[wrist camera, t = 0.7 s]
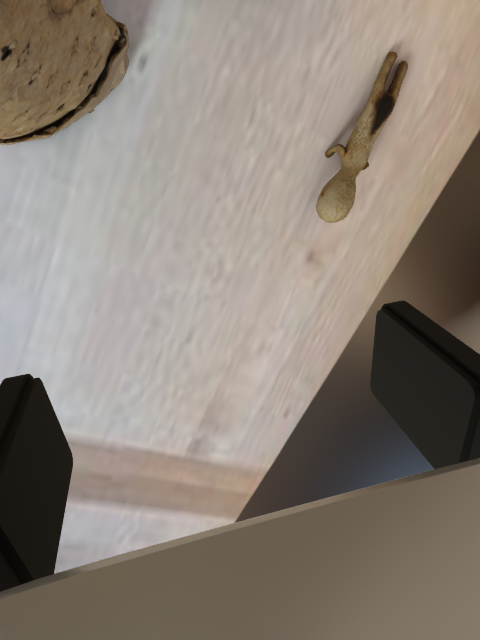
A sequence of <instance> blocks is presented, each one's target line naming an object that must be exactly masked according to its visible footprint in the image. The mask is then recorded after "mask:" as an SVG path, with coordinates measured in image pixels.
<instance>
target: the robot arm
mask: <svg viewBox="0 0 480 640" xmlns="http://www.w3.org/2000/svg"><path fill="white" fill-rule="evenodd" d="M370 385H371V390H372V392H373V394H374V396H375V397H376V398H377V400H378V401H379V402H380V403H381V405H382V406H383V407H384V408H385V409H386V411H387V412H388V413H389V414H390V415H391V417H392V418H393V419H394V420H395V421H396V423H397V424H398V425H399V426H400V428H401V429H402V430H403V431H404V432H405V434H406V435H407V436H408V437H409V439H410V440H411V441H412V442H413V443H414V444H415V446H416V447H417V448H418V449H419V451H420V452H421V453H422V454H423V455H424V457H425V458H426V459H427V460H428V461H429V463H430V464H431V465H432V466H433V467H434V470H430V471H427V472H423V473H419V474H416V475H412V476H408V477H404V478H400V479H397V480H393V481H389V482H385V483H382V484H378V485H374V486H370V487H366V488H363V489H359V490H355V491H352V492H347V493H344V494H340V495H336V496H333V497H329V498H325V499H322V500H318V501H314V502H311V503H307V504H303V505H299V506H296V507H292V508H288V509H284V510H281V511H277V512H274V513H270V514H266V515H262V516H259V517H255V518H252V519H248V520H244V521H240V522H237V523H233V524H229V525H226V526H222V527H218V528H215V529H211V530H208V531H204V532H200V533H197V534H193V535H190V536H186V537H182V538H179V539H175V540H171V541H168V542H164V543H161V544H157V545H153V546H150V547H146V548H143V549H139V550H135V551H132V552H128V553H125V554H121V555H117V556H114V557H111V558H107V559H104V560H100V561H97V562H94V563H90V564H87V565H83V566H80V567H77V568H73V569H70V570H66V571H63V572H59V573H56V574H54V569H55V564H56V558H57V552H58V547H59V541H60V535H61V530H62V524H63V518H64V513H65V507H66V501H67V496H68V490H69V484H70V479H71V473H72V467H73V457H72V453H71V450H70V447H69V445H68V443H67V440H66V438H65V435H64V433H63V431H62V428H61V426H60V423H59V421H58V419H57V416H56V414H55V411H54V409H53V407H52V404H51V402H50V399H49V397H48V395H47V392H46V390H45V387H44V385H43V383H42V381H41V379H40V378H33V377H32V376H31V375H30V374H25V375H20V376H15V377H10V378H6V379H4V380H3V381H2V383H1V385H0V640H480V354H478V353H477V352H475V351H474V350H473V349H471V348H470V347H468V346H467V345H465V344H464V343H463V342H462V341H460V340H459V339H457V338H456V337H455V336H453V335H452V334H450V333H449V332H448V331H446V330H445V329H443V328H442V327H441V326H439V325H438V324H436V323H435V322H434V321H432V320H431V319H430V318H428V317H427V316H425V315H424V314H423V313H421V312H420V311H419V310H417V309H416V308H414V307H413V306H411V305H410V304H409V303H407V302H406V301H398V302H393V303H388V304H384V305H383V306H382V308H381V310H379V311H378V312H377V315H376V327H375V337H374V349H373V360H372V371H371V382H370Z"/></svg>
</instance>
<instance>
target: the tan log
mask: <svg viewBox="0 0 480 640" xmlns="http://www.w3.org/2000/svg"><path fill="white" fill-rule="evenodd" d="M128 46H129V41H128V31H127V28H126V25H124V24H121V23H119V22H117V21H116V20H114V19H113V18H112V17H110V16H109V15H108V14H106V13H105V11H104V8H103V6H102V3H101V0H0V145H11V144H15V143H20V142H25V141H30V140H38V139H44V138H49V137H51V136H52V135H55V134H56V133H58V132H59V131H61V130H62V129H64V128H66V127H68V126H69V125H71V124H72V123H74V122H75V121H77V120H78V119H80V118H81V117H82V116H84V115H85V114H87V113H91V112H93V111H94V108H95V107H96V106H97V105H98V104H99V103H100V102H101V101H102V100H103V99H104V98H105V97H107V96H108V95H109V94H110V92H111V91H112V90H113V89H114V88H115V87H117V86H118V85H119V84H120V82H121V81H122V79H123V78H124V76H125V74H126V71H127V68H128V64H129V59H128V57H127V54H126V52H127V49H128Z"/></svg>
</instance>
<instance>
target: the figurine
mask: <svg viewBox="0 0 480 640" xmlns="http://www.w3.org/2000/svg"><path fill="white" fill-rule="evenodd" d="M396 58H397V53H396V52H389V53H388V55H387V57H386V59H385V61H384V63H383V65H382V68H381V70H380V72H379V74H378V77H377V79H376V81H375V83H374V87H373V90H372V93H371V96H370V99H369V101H368V103H367V105H366V107H365V109H364V111H363V112H362V114H361V116H360V118H359V120H358V122H357V124H356V126H355V128H354V130H353V132H352V134H351V136H350V139H349V141H348V143H347V145H346V148H345V147H344V146H343V145H341V144H338V145H336V146H334V147H333V148H331V149H329V150H328V151H326V153H325V156H326V157H327V158H329V157H331V156H332V155H333V154H334V153H335V152H337V153H338V154H339V155H340V157H341V158H342V167H341V170H340V171H339V172H338V173H337V174H336V175H335V176H334V177H333V178H332V179H331V180H330V181H329V182H328V183H327V184H326V185H325V186H324V188H323V189H322V191H321V193H320V195H319V197H318V201H317V206H316V210H317V213H318V215H319V216H320V218H321V219H322V220H324V221H326V222H329V223H334V222H338V221H340V220H343V219H344V218H345V217H346V216H347V215H348V213H349V212H350V210H351V208H352V206H353V203H354V199H355V192H356V184H355V181H356V176H357V175H358V174H359V172H360V171H361V170H364V169H366V168H367V167H368V166H369V163H368V162H367V161H368V157H369V155H370V152H371V149H372V146H373V144H374V142H375V140H376V138H377V136H378V134H379V132H380V131H381V129H382V127H383V125H384V124H385V122H386V120H387V119H388V117H389V116H390V114H391V113H392V111H393V108H394V106H395V103H396V100H397V97H398V94H399V91H400V87H401V84H402V81H403V78H404V76H405V74H406V71H407V67H408V64H407V62H406V61H402V62H401V63H400V64H399V66H398V69H397V72H396V74H395V77H394V79H393V81H392V83H391V85H390V87H389V89H388V90H387V92H386V91H385V84H386V80H387V77H388V75H389V72H390V70H391V68H392V66H393V64H394V62H395V60H396Z"/></svg>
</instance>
